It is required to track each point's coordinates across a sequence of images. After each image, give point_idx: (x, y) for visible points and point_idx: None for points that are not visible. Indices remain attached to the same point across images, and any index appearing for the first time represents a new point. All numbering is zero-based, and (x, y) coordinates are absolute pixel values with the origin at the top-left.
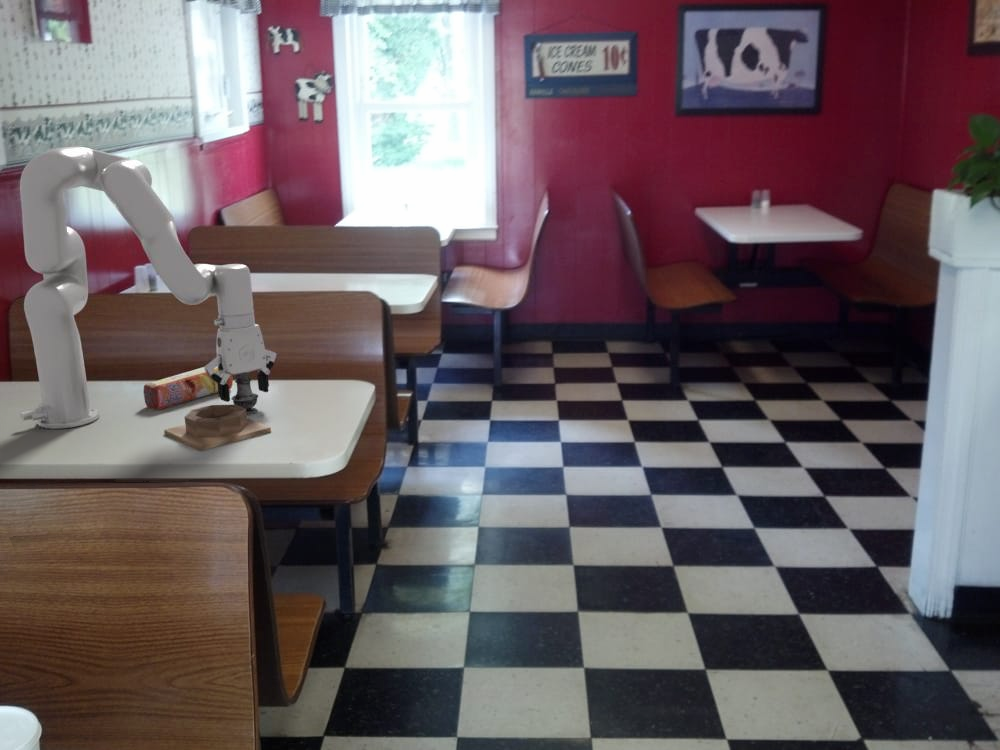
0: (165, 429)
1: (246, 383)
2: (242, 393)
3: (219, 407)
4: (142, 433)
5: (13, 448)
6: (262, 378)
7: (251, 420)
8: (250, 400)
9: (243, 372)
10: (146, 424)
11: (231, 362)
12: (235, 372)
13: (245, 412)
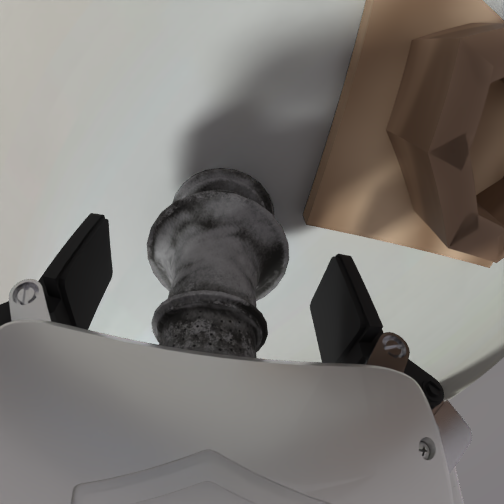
0: (488, 267)
1: (218, 291)
2: (250, 260)
3: (474, 191)
4: (472, 302)
5: (500, 358)
6: (76, 284)
7: (363, 55)
8: (233, 196)
9: (276, 361)
10: (418, 342)
11: (423, 474)
12: (372, 377)
13: (459, 35)
